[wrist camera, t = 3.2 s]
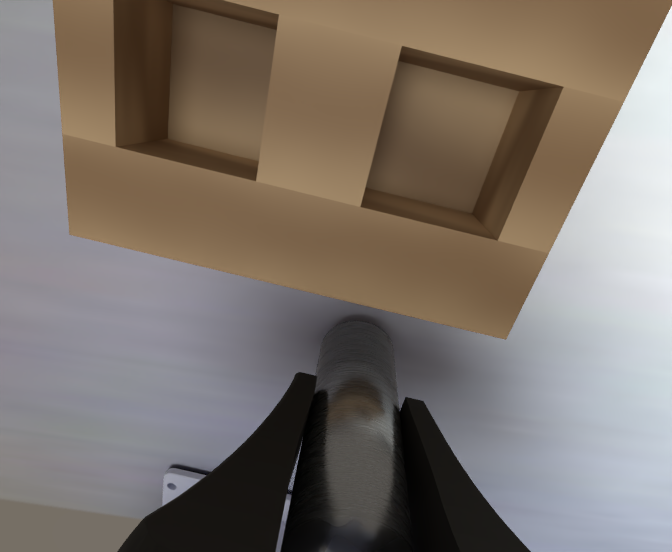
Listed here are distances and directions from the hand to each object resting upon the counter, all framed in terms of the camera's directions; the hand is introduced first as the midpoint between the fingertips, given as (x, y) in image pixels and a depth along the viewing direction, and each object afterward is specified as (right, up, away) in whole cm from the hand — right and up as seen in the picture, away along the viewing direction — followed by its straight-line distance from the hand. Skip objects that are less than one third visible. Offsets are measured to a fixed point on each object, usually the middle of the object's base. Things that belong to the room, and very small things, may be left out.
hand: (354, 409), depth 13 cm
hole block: (-1, +10, 0) cm, 10 cm away
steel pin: (0, +1, +3) cm, 3 cm away
